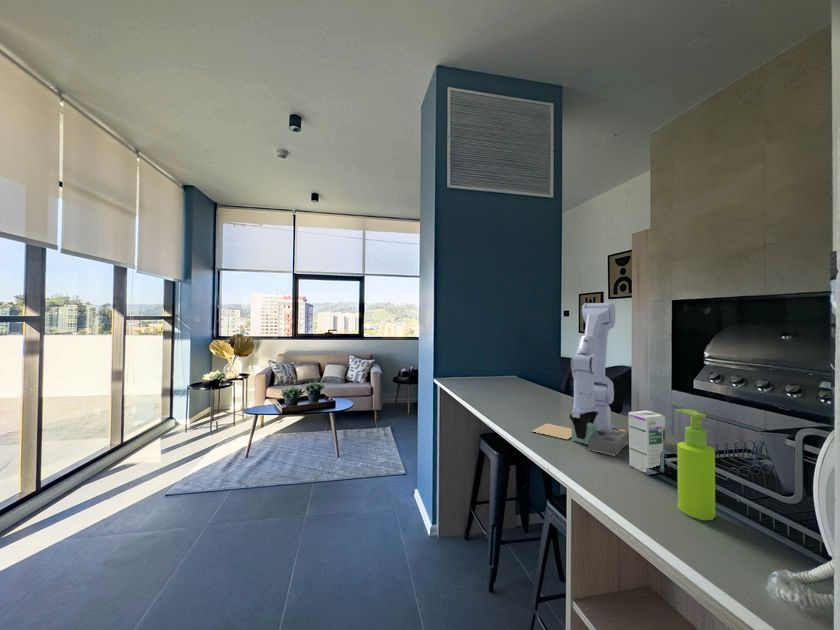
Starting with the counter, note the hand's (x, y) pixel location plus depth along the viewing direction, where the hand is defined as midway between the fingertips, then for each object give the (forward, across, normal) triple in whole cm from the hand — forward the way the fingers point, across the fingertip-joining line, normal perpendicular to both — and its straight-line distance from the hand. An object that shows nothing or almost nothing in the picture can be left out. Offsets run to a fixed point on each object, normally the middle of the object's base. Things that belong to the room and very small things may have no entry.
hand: (583, 436), depth 111 cm
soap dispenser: (+2, -27, -30) cm, 40 cm away
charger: (+2, 0, -1) cm, 2 cm away
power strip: (+2, 0, -7) cm, 7 cm away
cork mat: (+2, +3, +10) cm, 11 cm away
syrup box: (+2, -11, -19) cm, 22 cm away
